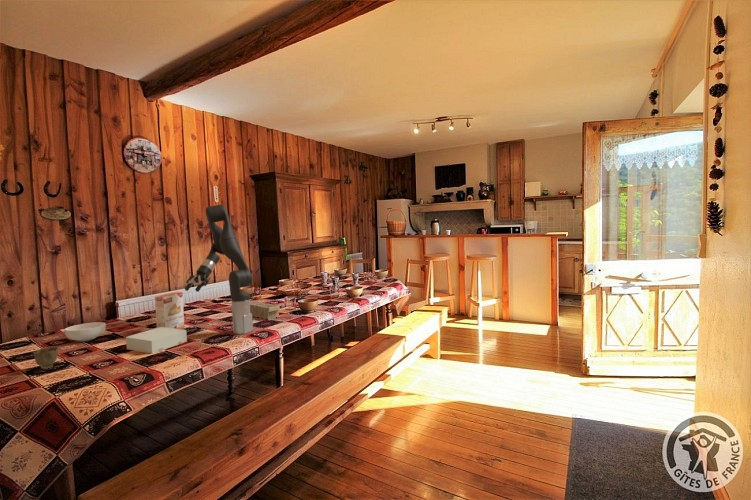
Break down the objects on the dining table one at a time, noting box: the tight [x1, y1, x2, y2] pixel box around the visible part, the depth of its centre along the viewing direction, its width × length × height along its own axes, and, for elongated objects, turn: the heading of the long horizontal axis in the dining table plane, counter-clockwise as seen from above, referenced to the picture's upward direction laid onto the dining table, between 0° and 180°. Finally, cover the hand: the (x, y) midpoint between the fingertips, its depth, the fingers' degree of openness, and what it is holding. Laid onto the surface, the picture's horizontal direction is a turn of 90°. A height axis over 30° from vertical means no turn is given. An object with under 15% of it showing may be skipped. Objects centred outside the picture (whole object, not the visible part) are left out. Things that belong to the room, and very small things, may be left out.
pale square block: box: [125, 327, 188, 355], centre depth 175 cm, size 18×18×6 cm
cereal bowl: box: [64, 321, 107, 343], centre depth 188 cm, size 17×17×7 cm
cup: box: [32, 346, 58, 370], centre depth 149 cm, size 8×7×8 cm
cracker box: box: [154, 291, 185, 330], centre depth 197 cm, size 14×6×21 cm, turn 168°
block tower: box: [250, 300, 281, 321], centre depth 228 cm, size 8×8×29 cm
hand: (191, 290), depth 209 cm, fingers open, 8 cm apart
